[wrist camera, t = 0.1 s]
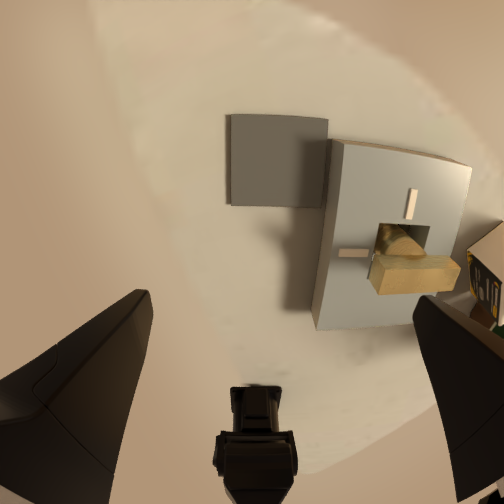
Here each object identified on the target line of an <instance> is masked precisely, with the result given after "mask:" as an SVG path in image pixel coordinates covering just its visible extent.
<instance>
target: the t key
mask: <svg viewBox="0 0 504 504" xmlns="http://www.w3.org/2000/svg"><path fill="white" fill-rule="evenodd" d="M374 251H375V253H376V254H377V255H374V259H373V263H372V267H371V271H370V275H369V281H370V282H371V284H372V286H373V287H374V289H375V291H376V292H377V294H378V295H394V294H412V293H427V292H441V291H453V288H454V286H455V283H456V281H457V278H458V275H459V273H460V270H461V268H460V267H459V266H458V265H457V264H456V263H455V262H454V261H453V260H452V259H451V258H450V257H449V256H448V255H427V253H426V252H425V251H424V250H423V249H422V248H421V247H420V246H419V245H418V244H417V243H416V242H415V241H414V240H413V239H412V238H411V237H410V236H409V235H408V234H407V233H406V232H405V231H404V230H403V229H402V228H401V227H400V226H398V225H397V224H392V223H379V227H378V232H377V237H376V241H375V246H374Z"/></svg>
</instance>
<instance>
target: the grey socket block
mask: <svg viewBox="0 0 504 504" xmlns="http://www.w3.org/2000/svg"><path fill="white" fill-rule="evenodd" d="M471 171H472V167H469V166H467V165H465V164H462V163H460V162H457V161H455V160H452V159H448V158H444V157H440V156H435V155H431V154H426V153H421V152H416V151H411V150H406V149H401V148H395V147H389V146H383V145H376V144H370V143H362V142H355V141H347V140H338V139H332V148H331V161H330V172H329V182H328V192H327V201H326V210H325V219H324V227H323V234H322V242H321V249H320V256H319V263H318V269H317V276H316V282H315V288H314V294H313V300H312V306H311V313H312V316H313V320H314V324H315V328H316V331H322V330H342V329H357V328H371V327H382V326H393V325H403V324H412V323H413V320H412V315H413V312H414V309H415V307H416V305H417V302H418V300H419V298H420V296H422V295H433V296H434V297H436V294H437V292H427V293H412V294H394V295H378V294H377V292H376V291H375V289H374V287H373V286H372V284H371V282H370V281H369V275H370V271H371V267H372V263H373V261H371V259H372V255H373V250H374V246H375V241H376V237H377V232H378V227H379V223H392V224H408V225H411V226H410V230H409V234H408V235H409V236H410V237H411V238H412V239H413V240H414V241H415V242H416V243H417V244H418V245H419V246H420V247H421V248H422V249H423V250H424V251H425V252H426V253H427V255H448V256H449V257H450V256H451V253H452V250H453V246H454V243H455V240H456V236H457V233H458V229H459V226H460V222H461V218H462V214H463V210H464V206H465V202H466V197H467V192H468V188H469V182H470V177H471Z"/></svg>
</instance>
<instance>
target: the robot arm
mask: <svg viewBox="0 0 504 504" xmlns="http://www.w3.org/2000/svg"><path fill="white" fill-rule="evenodd" d="M152 320H153V307H152V303H151V298H150V293H149V291H148V290H143V289H136V290H134V291H132V292H131V293H129V294H128V295H126V296H125V297H123V298H122V299H120V300H119V301H117V302H116V303H114V304H113V305H111V306H110V307H108V308H107V309H105V310H104V311H102V312H101V313H100V314H98V315H97V316H95V317H94V318H92V319H91V320H89V321H88V322H87V323H85V324H84V325H82V326H81V327H79V328H78V329H76V330H75V331H73V332H72V333H71V334H69V335H68V336H66V337H65V338H64V339H62V340H61V341H59V342H58V343H57V344H55V345H54V346H52V347H51V348H49V349H48V350H47V351H45V352H44V353H42V354H41V355H39V356H38V357H36V358H35V359H33V360H32V361H30V362H29V363H27V364H25V365H24V366H22V367H21V368H19V369H17V370H16V371H14V372H12V373H11V374H9V375H7V376H6V377H4V378H3V379H1V380H0V504H109V499H110V493H111V488H112V483H113V479H114V473H115V468H116V464H117V460H118V455H119V451H120V446H121V442H122V438H123V434H124V430H125V427H126V423H127V419H128V415H129V412H130V408H131V404H132V401H133V397H134V394H135V390H136V387H137V383H138V380H139V376H140V373H141V370H142V367H143V363H144V359H145V356H146V351H147V346H148V340H149V335H150V330H151V325H152ZM412 320H413V324H414V327H415V331H416V335H417V338H418V342H419V346H420V350H421V354H422V357H423V360H424V363H425V366H426V369H427V372H428V375H429V378H430V381H431V384H432V388H433V391H434V394H435V398H436V401H437V405H438V408H439V412H440V415H441V419H442V423H443V427H444V431H445V436H446V440H447V444H448V449H449V453H450V460H451V465H452V471H453V477H454V483H455V491H456V498H457V502H458V503H459V502H461V501H462V500H464V499H467V498H468V497H470V496H472V495H474V494H476V493H478V492H479V491H481V490H483V489H484V488H486V487H488V486H489V485H491V484H493V483H494V482H496V484H497V487H498V488H497V489H495V490H494V491H493V492H491V493H490V494H488V495H487V496H485V497H484V498H482V499H480V500H479V503H478V504H504V339H502V338H501V337H500V336H498V335H497V334H495V333H493V332H492V331H490V330H489V329H487V328H486V327H484V326H482V325H481V324H479V323H478V322H476V321H474V320H473V319H471V318H469V317H468V316H466V315H465V314H463V313H461V312H460V311H458V310H456V309H455V308H453V307H451V306H450V305H448V304H446V303H445V302H443V301H441V300H439V299H438V298H436V297H434V296H433V295H422V296H420V298H419V300H418V302H417V305H416V307H415V309H414V312H413V315H412ZM281 393H282V389H281V387H231V388H230V396H231V409H232V412H233V413H234V414H233V432H226V431H221V434H220V435H218V436H216V446H215V451H214V456H213V465H214V466H215V467H216V468H217V471H218V476H221V477H224V479H223V481H224V487H225V491H226V494H227V495H228V497H229V498H230V500H231V501H232V503H233V504H281V502H282V501H283V500H284V498H285V496H286V495H287V493H288V491H289V490H290V488H291V486H292V484H293V482H294V476H296V475H297V470H298V457H297V451H296V446H295V441H294V436H293V431H292V430H290V431H283V432H279V423H278V409H279V404H280V398H281Z"/></svg>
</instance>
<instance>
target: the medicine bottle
mask: <svg viewBox="0 0 504 504" xmlns="http://www.w3.org/2000/svg"><path fill="white" fill-rule="evenodd" d="M467 259H468V268H469V279H470V291H471V293H472V294H473V295H474V296H475V298H476V299H477V300H478V301H479V302H480V303H481V305H482V306H483V307H484V308H485V309H486V311H487V312H488V313H489V314H490V316H491V317H492V318H493V319H494V321H495V322H496V323H497V324H498V326H502V325H503V324H504V222H502V223H501V224H500V225H499V226H497V227H496V228H495V229H494V230H492V231H491V232H490V233H488V234H487V235H486V236H484V237H483V238H482V239H480V240H479V241H478V242H476V243H475V244H474V245H472V246H471V247H470V248H468V249H467Z"/></svg>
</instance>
